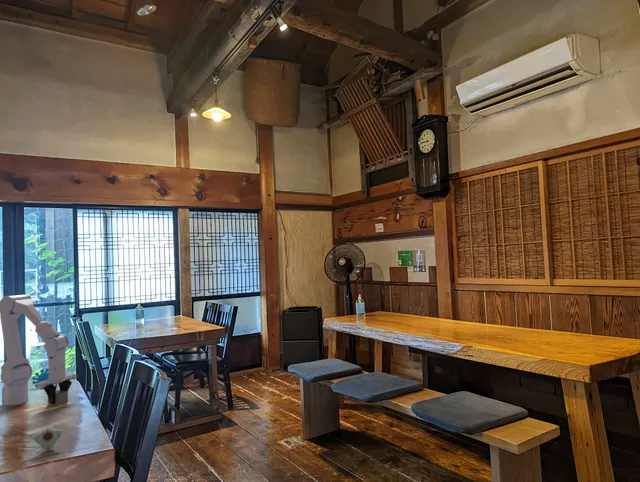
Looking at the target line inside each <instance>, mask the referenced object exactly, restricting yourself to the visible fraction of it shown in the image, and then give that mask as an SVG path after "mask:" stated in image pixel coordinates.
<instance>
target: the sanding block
mask: <svg viewBox="0 0 640 482" xmlns="http://www.w3.org/2000/svg"><path fill="white" fill-rule="evenodd" d="M68 402H69V390H68V391H60V389H56V393H55V404H52V405H58V406H59V405H63V404H66V403H68ZM47 403H48V404H50V401H49V398H48V397H47Z"/></svg>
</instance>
